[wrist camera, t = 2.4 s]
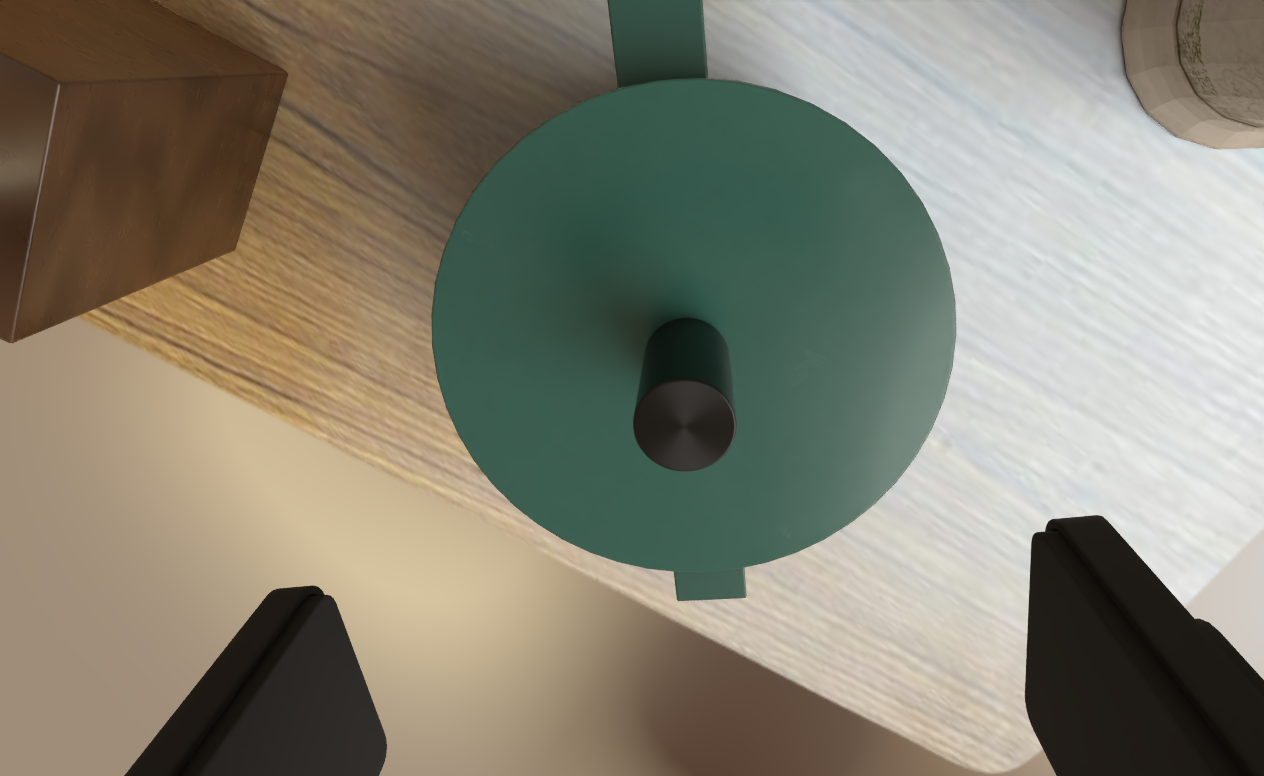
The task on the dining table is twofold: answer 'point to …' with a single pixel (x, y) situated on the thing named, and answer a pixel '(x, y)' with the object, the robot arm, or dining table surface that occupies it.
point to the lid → (693, 324)
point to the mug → (1199, 68)
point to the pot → (646, 51)
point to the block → (119, 152)
